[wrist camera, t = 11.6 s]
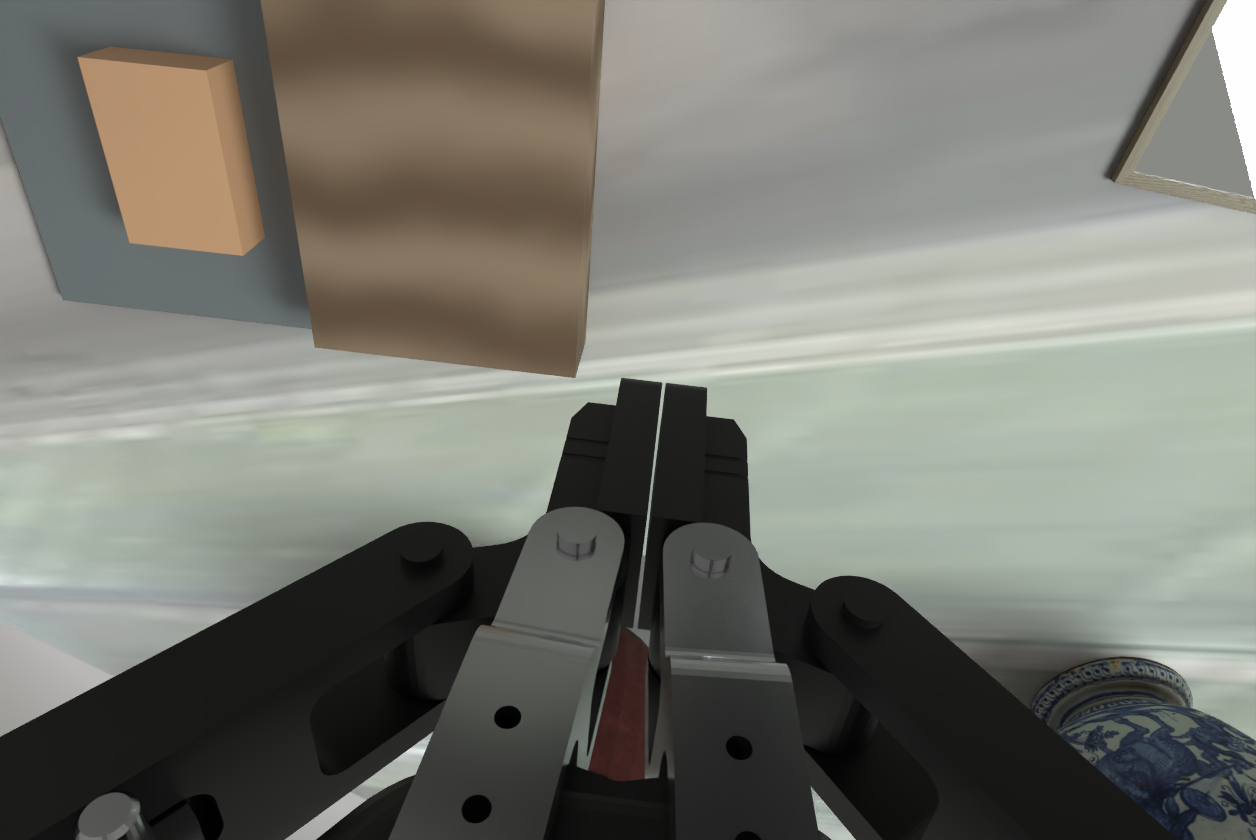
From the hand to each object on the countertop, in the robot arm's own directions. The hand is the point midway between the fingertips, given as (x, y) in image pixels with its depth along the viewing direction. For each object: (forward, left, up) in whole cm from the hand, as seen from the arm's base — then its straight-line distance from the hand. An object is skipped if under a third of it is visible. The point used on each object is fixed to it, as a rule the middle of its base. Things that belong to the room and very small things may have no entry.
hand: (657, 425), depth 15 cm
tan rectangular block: (+6, -25, -27) cm, 38 cm away
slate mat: (+6, -27, -29) cm, 40 cm away
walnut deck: (+6, -12, -29) cm, 32 cm away
